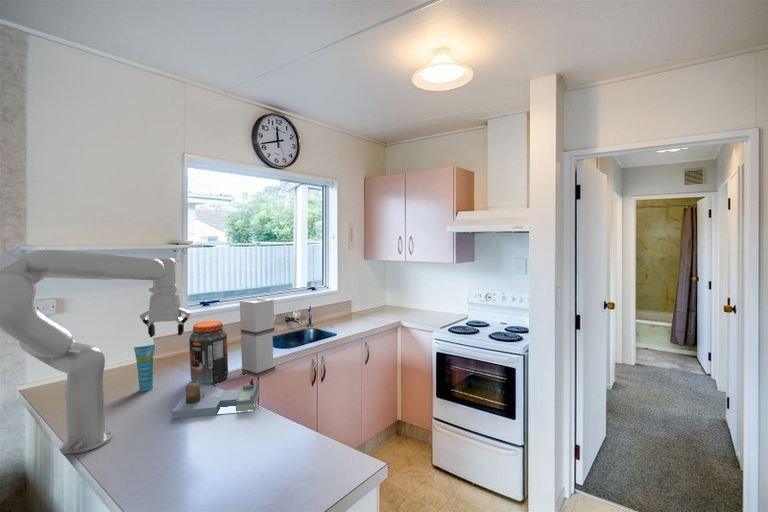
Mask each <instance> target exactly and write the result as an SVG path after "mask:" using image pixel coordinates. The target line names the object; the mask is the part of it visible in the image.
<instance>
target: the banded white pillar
mask: <svg viewBox="0 0 768 512" xmlns="http://www.w3.org/2000/svg"><path fill="white" fill-rule="evenodd" d="M274 305H275V303H274V299H272V298H264V297H256V301H248V300H239V313H240V314H239V316H240V317H239V319H240V322H239V323H240V343H241V344H240V345H241V347H240V349H241V353H240V354H241V373H242V374H245V375H249V376H252V377H256V378H259V377H263V376H265V375H267V374H268V375H269V374H270V373H273V372H276V365H274V341H273V340H274V338H273V336H274V335H275V307H274Z"/></svg>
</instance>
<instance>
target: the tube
mask: <svg viewBox="0 0 768 512" xmlns="http://www.w3.org/2000/svg"><path fill="white" fill-rule="evenodd" d="M133 350H134V353H135V361H136V369H137V377H138V387H139V388H138V390H139V392H148V391H152V390H153V388H154V359H155V358H154V355H155V344H148V345H143V346H136V347H135V346H134V347H133Z"/></svg>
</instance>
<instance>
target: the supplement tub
mask: <svg viewBox="0 0 768 512" xmlns="http://www.w3.org/2000/svg"><path fill="white" fill-rule="evenodd" d="M223 324H224V323H223V321H221V320H207V321H201V322H197V323H195V324H193V325H192V332H191V334H190V336H189V339H188V341H189V342H188V343H189V366H190V371H189V372H190V380H191V382H192V383H199V384H200V385H210V384H215V383H219V382H221V381H224V380H225V379H227V377H228V376H229V362H228V361H229V360H228V359H229V358H228V355H229V354H228V334H227V332H226V330H225V329H223V327H224V325H223Z"/></svg>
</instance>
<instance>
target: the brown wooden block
mask: <svg viewBox="0 0 768 512" xmlns="http://www.w3.org/2000/svg"><path fill="white" fill-rule="evenodd" d="M184 389H185V394H186V403H187V404H193V403H197V402H199V401H200V400H201V397H200V393H201V384H199V383H194V382H192V383H188V384H187V385H185V386H184Z"/></svg>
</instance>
